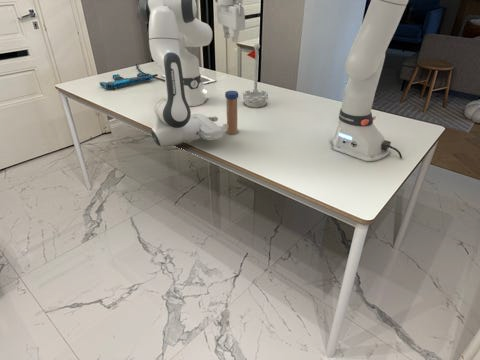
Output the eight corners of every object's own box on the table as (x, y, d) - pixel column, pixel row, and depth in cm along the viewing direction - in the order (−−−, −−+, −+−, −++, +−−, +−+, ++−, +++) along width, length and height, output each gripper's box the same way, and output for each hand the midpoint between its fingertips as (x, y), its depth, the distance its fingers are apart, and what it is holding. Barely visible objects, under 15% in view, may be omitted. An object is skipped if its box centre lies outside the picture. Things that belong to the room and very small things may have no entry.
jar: (225, 132, 149) (223, 94, 139) (231, 128, 152) (230, 91, 142) (233, 135, 146) (233, 96, 137) (239, 131, 150) (239, 93, 140)
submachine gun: (143, 67, 226) (161, 73, 210) (144, 73, 228) (162, 79, 212) (92, 77, 208) (107, 85, 191) (93, 83, 210) (109, 91, 193)
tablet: (161, 76, 220) (161, 75, 220) (187, 70, 231) (187, 69, 231) (189, 87, 200) (189, 87, 199) (216, 81, 211) (216, 80, 210)
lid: (222, 97, 140) (222, 93, 139) (230, 94, 144) (230, 89, 142) (233, 100, 137) (233, 95, 136) (240, 96, 141) (240, 92, 140)
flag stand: (261, 97, 185) (263, 39, 169) (271, 105, 175) (275, 44, 158) (239, 100, 181) (239, 41, 165) (248, 109, 171) (249, 46, 154)
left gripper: (202, 131, 129) (234, 124, 135) (181, 114, 144) (210, 107, 149) (203, 146, 132) (234, 138, 138) (183, 127, 147) (211, 121, 153)
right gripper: (249, 1, 114) (249, 44, 121) (228, -4, 129) (229, 34, 137) (232, 1, 112) (232, 46, 119) (213, -4, 128) (214, 35, 135)
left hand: (222, 122), depth 144 cm, fingers open, 8 cm apart
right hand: (230, 40), depth 128 cm, fingers open, 7 cm apart
